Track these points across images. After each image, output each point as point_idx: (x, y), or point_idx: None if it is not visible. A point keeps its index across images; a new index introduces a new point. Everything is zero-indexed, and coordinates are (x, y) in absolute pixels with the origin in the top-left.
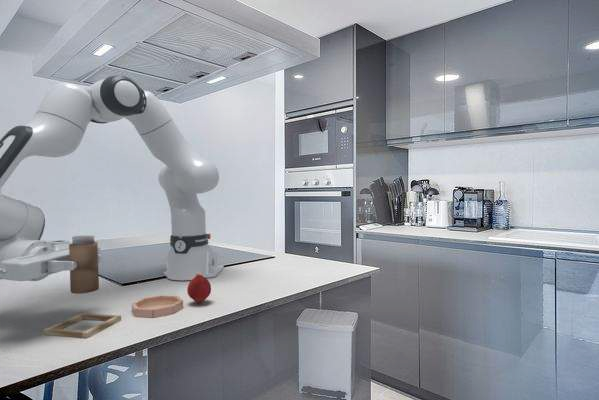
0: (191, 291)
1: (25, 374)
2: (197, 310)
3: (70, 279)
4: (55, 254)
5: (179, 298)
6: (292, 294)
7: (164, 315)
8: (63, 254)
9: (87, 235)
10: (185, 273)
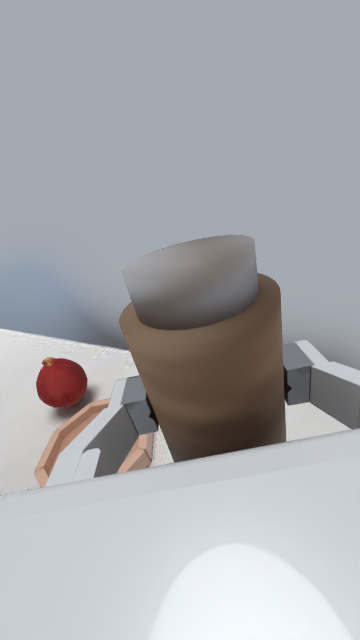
0: (81, 381)
1: None
2: (113, 385)
3: None
4: (354, 507)
5: (76, 415)
6: (60, 338)
7: None
8: (282, 444)
9: (132, 269)
10: None
